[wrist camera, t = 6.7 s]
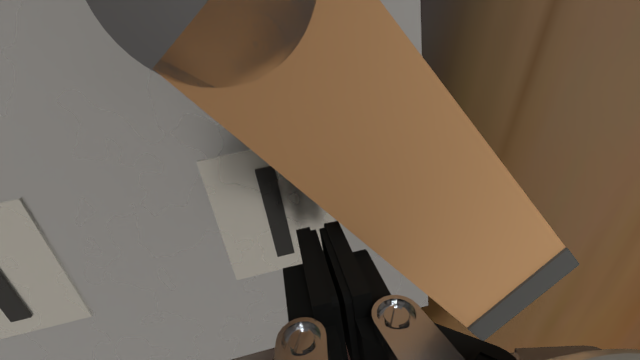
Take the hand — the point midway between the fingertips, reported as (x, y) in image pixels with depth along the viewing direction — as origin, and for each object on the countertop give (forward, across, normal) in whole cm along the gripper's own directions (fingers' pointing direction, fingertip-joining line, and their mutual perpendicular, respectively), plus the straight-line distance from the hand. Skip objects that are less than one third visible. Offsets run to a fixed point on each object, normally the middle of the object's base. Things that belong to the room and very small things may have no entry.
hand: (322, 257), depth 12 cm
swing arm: (0, -2, -4) cm, 5 cm away
